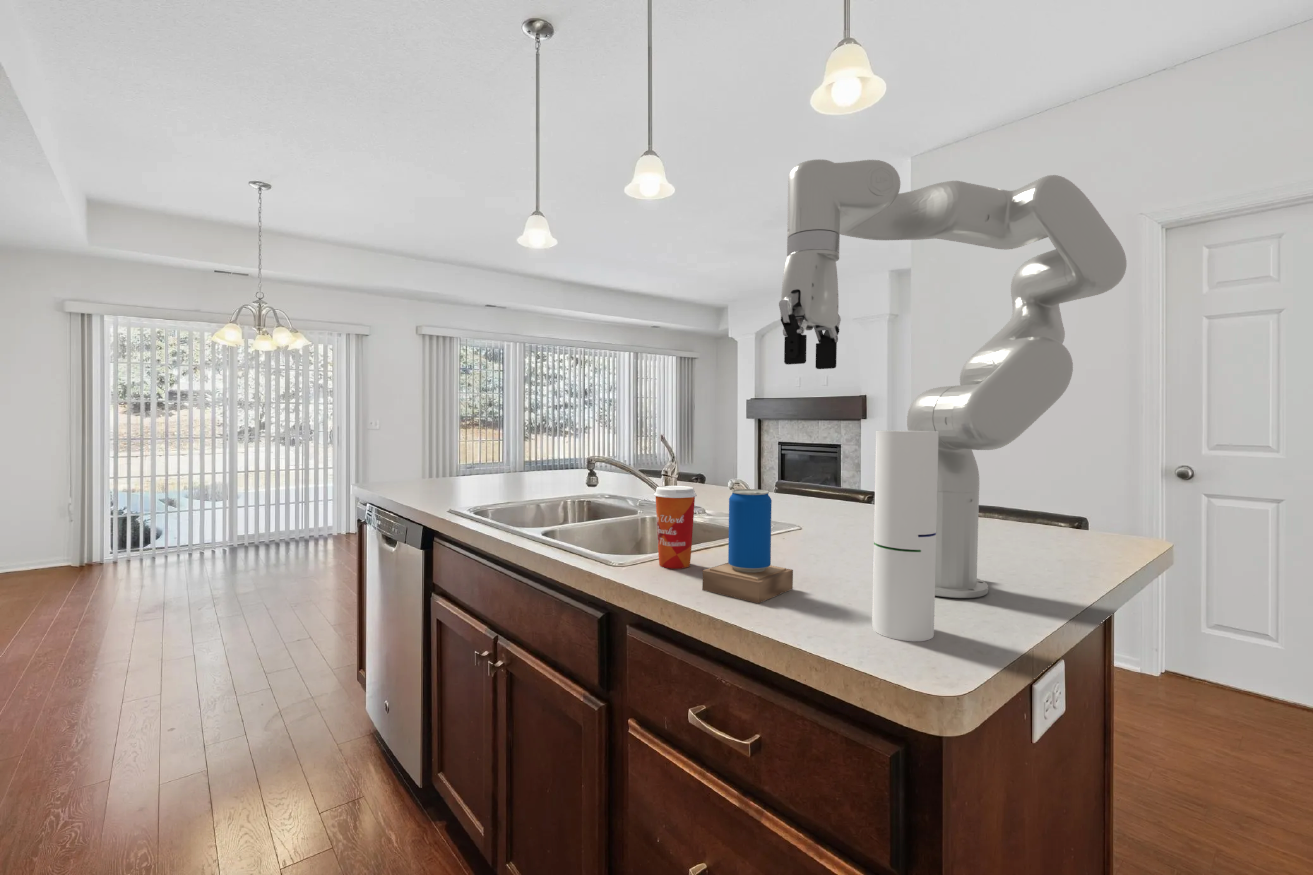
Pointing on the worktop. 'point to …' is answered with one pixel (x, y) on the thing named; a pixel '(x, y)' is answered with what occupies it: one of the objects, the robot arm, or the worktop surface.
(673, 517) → the paper cup
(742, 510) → the beverage can
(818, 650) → the worktop surface
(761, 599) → the plinth
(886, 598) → the cylindrical container
